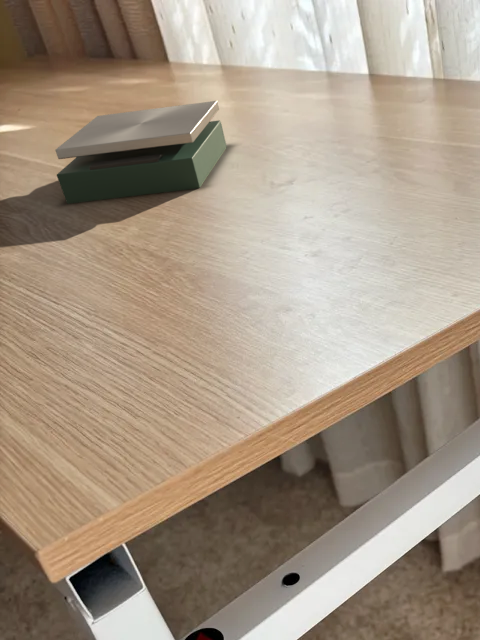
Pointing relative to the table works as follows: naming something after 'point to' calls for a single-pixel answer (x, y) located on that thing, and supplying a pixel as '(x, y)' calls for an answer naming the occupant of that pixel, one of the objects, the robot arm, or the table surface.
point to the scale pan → (139, 130)
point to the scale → (143, 169)
